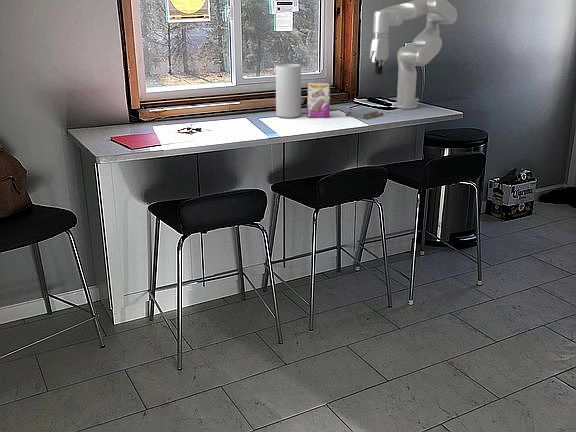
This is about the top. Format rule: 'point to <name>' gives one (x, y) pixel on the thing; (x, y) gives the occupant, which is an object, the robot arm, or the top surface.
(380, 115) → the pair of brown sticks
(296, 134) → the top surface
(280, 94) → the cylinder vase
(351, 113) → the steel cover plate
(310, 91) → the candy bar box
